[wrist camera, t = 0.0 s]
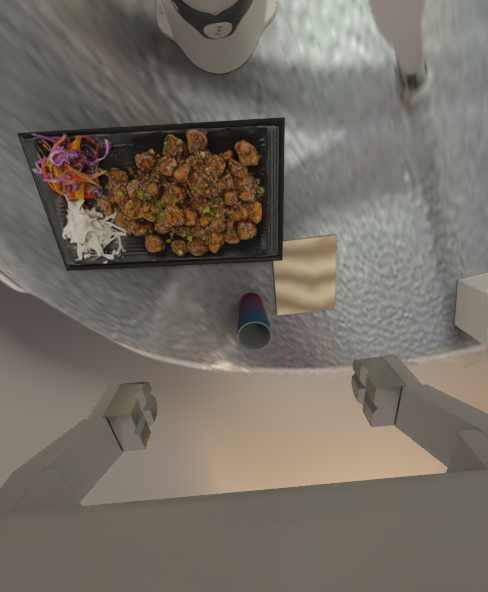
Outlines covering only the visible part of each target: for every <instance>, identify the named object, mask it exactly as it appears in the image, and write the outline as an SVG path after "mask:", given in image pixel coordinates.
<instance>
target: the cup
mask: <svg viewBox="0 0 488 592" xmlns="http://www.w3.org/2000/svg"><path fill="white" fill-rule="evenodd" d="M272 337H273V336H272V331H271V328H270V325H269V322H268V319H267V316H266V313H265V310H264V307H263V304H262V301H261V298H260V297H259V296H258V295H257V294H255V293H248V294H245V295H244V296H243V297H242V299H241V304H240V313H239V322H238V330H237V341H238V343H239V345H240V346H241V347H242V348H243V349H245V350H247V351H251V352H257V351H261V350H263V349H265V348H267V347H268V346H269V345H270V343H271V341H272Z"/></svg>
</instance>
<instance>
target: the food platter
mask: <svg viewBox="0 0 488 592" xmlns="http://www.w3.org/2000/svg"><path fill="white" fill-rule="evenodd" d="M284 133H285V118H268V119H251V120H234V121H217V122H200V123H183V124H166V125H149V126H132V127H115V128H98V129H81V130H64V131H47V132H30V133H18V136H19V139H20V142H21V144H22V147H23V150H24V153H25V156H26V158H27V161H28V164H29V167H30V169H31V172H32V175H33V178H34V181H35V183H36V186H37V189H38V192H39V195H40V197H41V200H42V203H43V206H44V208H45V211H46V214H47V217H48V220H49V222H50V225H51V228H52V231H53V233H54V236H55V239H56V242H57V245H58V247H59V250H60V253H61V256H62V259H63V261H64V264H65V267H66V270H67V271H72V270H93V269H114V268H134V267H155V266H176V265H197V264H218V263H239V262H260V261H281V260H283V201H284Z"/></svg>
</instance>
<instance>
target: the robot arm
mask: <svg viewBox="0 0 488 592" xmlns="http://www.w3.org/2000/svg"><path fill="white" fill-rule="evenodd" d="M156 7H157V23H158V26H159V29H160V31H161V32H162V33H163V34H164V35H165V36H167V37H168V38H170V39H171V40H173V41H174V42H176V43H177V44H178V45H179V47H180V48H181V49H182V51H183V52H184V53H185V55H186V56H187V57H188V58H189V59H190V61H191V62H193V63H194V64H195V65H196V66H198V67H199V68H201V69H202V70H205V71H207V72H210V73H216V74H222V73H228V72H231V71H233V70H235V69H237V68H239V67H240V66H241V65H242V64H244V63H245V62H246V61H247V59H248V58H249V57H250V56H251V54H252V53H253V51H254V49H255V47H256V45H257V42H258V40H259V37H260V35H261V33H262V31H263V29H264V28H265V27H266V26H267V25H268V24H269V23H270V22H271V20H272V19H273V18H274V16H275V14H276V10H277V2H276V0H156ZM163 14H164V15H163ZM353 369H354V371H355V374H354V375H353V376H352V388H353V392H354V395H355V397H356V399H357V401H358V402H359V403H361V404H362V405H363V413H364V414H365V416H366V418H367V420H368V422H369V423H370V425H371V426H372V427H374V426H387V425H395V426H396V427H397V428H398V429H399V430H401V431H402V432H403V433H405V434H406V435H407V436H409V437H410V438H411V439H412V440H413V441H415V442H416V443H417V444H419V445H420V446H421V447H422V448H424V449H425V450H426V451H428V452H429V453H430V454H431V455H433V456H434V457H435V458H437V459H438V460H439V461H440V462H442V463H443V464H444V465H445V466H447V467H448V469H447V472H446V473H442V474H429V475H418V476H407V477H396V478H385V479H374V480H365V481H353V482H342V483H332V484H321V485H310V486H300V487H288V488H278V489H267V490H256V491H244V492H233V493H222V494H213V495H212V494H211V495H200V496H189V497H178V498H167V499H156V500H145V501H135V502H123V503H113V504H101V505H90V506H81V504H80V503H79V502H80V501H81V500H82V499H83V498H84V497H85V495H86V494H87V493H88V492H89V491H90V490H91V489H92V488H93V486H94V485H95V484H96V483H97V482H98V481H99V479H100V478H101V477H102V476H103V475H104V474H105V473H106V472H107V470H108V469H109V468H110V467H111V466H112V465H113V464H114V462H115V461H116V460H117V459H118V458H119V456H121V454H122V453H123V452H124V451H132V450H140V449H145V448H146V445H147V442H148V439H149V436H150V433H151V432H150V429H149V427H150V426H151V425H152V424H153V423H154V422H155V419H156V415H157V402H156V399H155V397H154V396H152V395H151V394H150V392H151V390H152V388H151V386H150V383H148V382H139V383H126V384H117V385H110V386H108V387H107V388H106V390H105V392H104V393H103V395H102V396H101V398H100V400H99V401H98V403H97V404H96V406H95V408H94V409H93V411H92V412H91V414H90V415H89V417H88V419H85V420H82V421H81V422H79V423H78V424H77V425H75V426H74V427H73V428H71V429H70V430H69V431H67V432H66V433H65V434H64V435H62V436H61V437H59V438H58V439H57V440H56V441H54V442H53V443H52V444H50V445H49V446H47V447H46V448H45V449H43V450H42V451H41V452H39V453H38V454H37V455H35V456H34V457H33V458H31V459H30V460H28V461H27V462H26V463H25V464H23V465H22V466H20V467H19V468H18V469H17V470H15V471H14V472H12V474H11V475H10V476H9V478H8V479H7V480H6V482H5V483H4V484H3V486H2V487H1V488H0V592H488V414H487V413H485V412H483V411H481V410H478V409H476V408H474V407H472V406H470V405H468V404H466V403H464V402H462V401H460V400H458V399H455V398H453V397H451V396H450V395H447V394H445V393H443V392H441V391H439V390H437V389H435V388H433V387H431V386H429V385H422V384H421V383H420V382H419V381H418V379H417V378H416V377H415V376H414V375H413V374H412V373H411V372H410V370H409V369H408V368H407V367H406V366H405V365H404V364H403V363H402V362H401V360H400V359H399V358H398V357H397V356H395V355H389V356H381V357H374V358H365V359H356V360H354V362H353Z"/></svg>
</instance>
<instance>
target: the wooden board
mask: <svg viewBox="0 0 488 592" xmlns="http://www.w3.org/2000/svg"><path fill="white" fill-rule="evenodd" d="M336 250H337V235H336V234H335V235H327V236H318V237H310V238H302V239H294V240H286V241H283V260H281V261H273V269H274V282H275V296H276V310H277V315H285V314H293V313H302V312H311V311H320V310H329V309H334V308H335V279H336Z"/></svg>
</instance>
